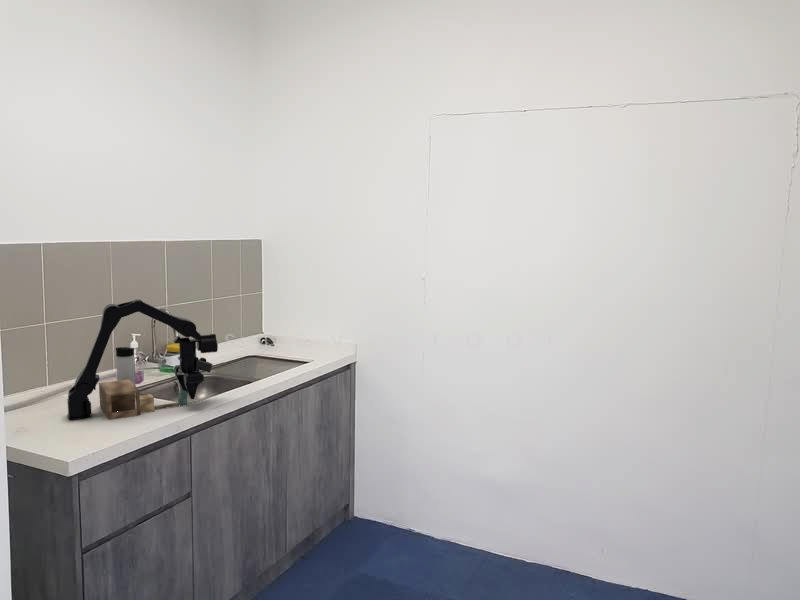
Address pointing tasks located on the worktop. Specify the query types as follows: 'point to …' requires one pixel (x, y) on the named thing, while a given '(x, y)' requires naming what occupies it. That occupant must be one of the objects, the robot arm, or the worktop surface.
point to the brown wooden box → (119, 399)
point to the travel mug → (125, 364)
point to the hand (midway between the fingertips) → (189, 396)
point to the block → (148, 405)
